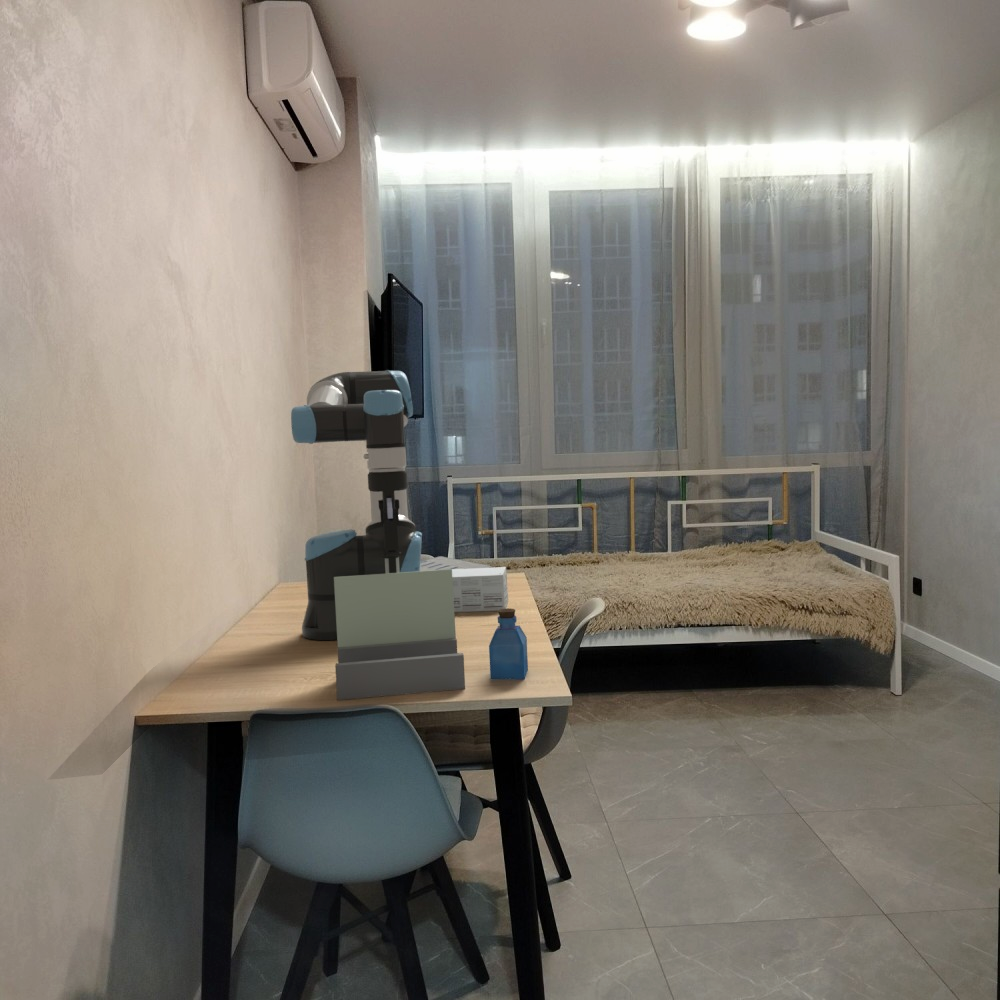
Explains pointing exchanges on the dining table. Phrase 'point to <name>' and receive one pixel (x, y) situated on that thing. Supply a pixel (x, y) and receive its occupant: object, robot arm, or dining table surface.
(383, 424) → the robot arm
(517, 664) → the perfume bottle
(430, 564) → the warehouse
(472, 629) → the dining table surface
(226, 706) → the dining table surface
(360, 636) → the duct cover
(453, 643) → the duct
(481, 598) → the supplement box
